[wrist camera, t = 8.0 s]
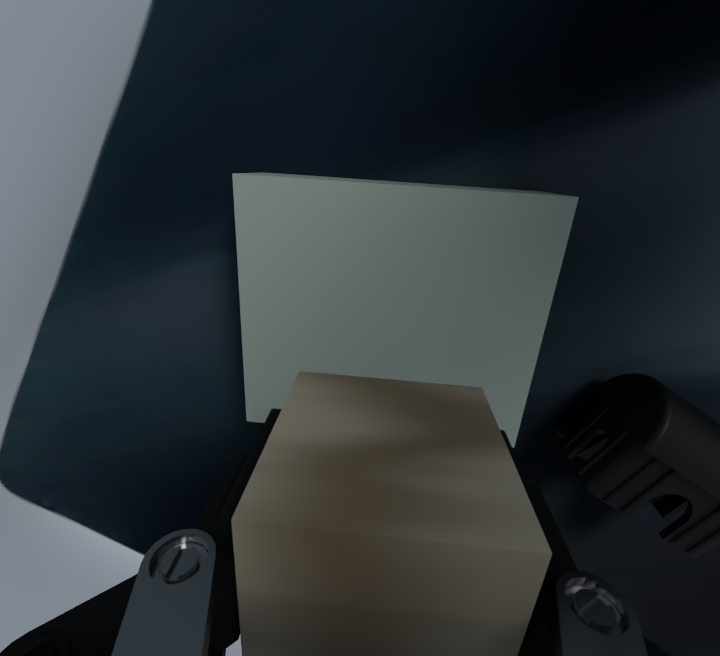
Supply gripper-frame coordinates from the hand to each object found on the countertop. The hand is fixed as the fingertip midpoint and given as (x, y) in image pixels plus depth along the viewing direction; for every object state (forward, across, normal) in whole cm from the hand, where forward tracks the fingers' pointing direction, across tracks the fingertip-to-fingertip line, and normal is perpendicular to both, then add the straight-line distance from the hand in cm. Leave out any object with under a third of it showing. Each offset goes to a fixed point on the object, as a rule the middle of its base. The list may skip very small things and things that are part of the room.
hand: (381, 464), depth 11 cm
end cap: (+16, -18, +8) cm, 25 cm away
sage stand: (+16, 0, 0) cm, 16 cm away
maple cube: (+1, 0, 0) cm, 1 cm away
